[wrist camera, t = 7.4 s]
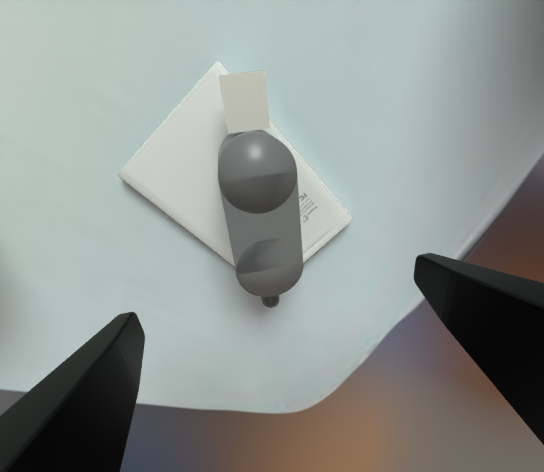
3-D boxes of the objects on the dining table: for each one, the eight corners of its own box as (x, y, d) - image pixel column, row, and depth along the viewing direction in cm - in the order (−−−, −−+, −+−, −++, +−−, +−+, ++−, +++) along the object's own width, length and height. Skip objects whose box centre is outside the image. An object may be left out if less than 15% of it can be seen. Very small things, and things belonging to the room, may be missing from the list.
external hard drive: (217, 63, 16) (345, 211, 21) (123, 169, 17) (264, 283, 22) (217, 59, 14) (355, 219, 19) (114, 175, 16) (268, 296, 21)
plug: (292, 288, 21) (307, 327, 17) (243, 297, 21) (249, 339, 17) (272, 73, 15) (289, 64, 11) (202, 81, 14) (197, 74, 11)
